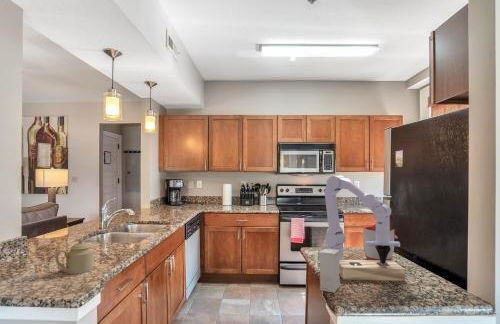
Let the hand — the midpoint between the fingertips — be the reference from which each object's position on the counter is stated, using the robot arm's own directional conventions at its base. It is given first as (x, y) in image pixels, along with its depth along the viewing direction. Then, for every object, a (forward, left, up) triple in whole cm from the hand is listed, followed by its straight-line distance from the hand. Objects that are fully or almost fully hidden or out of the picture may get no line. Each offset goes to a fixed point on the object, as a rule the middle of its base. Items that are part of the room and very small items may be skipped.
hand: (382, 262), depth 140 cm
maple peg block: (0, -6, -6) cm, 8 cm away
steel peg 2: (0, 0, -5) cm, 5 cm away
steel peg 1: (0, -12, -6) cm, 13 cm away
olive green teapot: (0, -138, -6) cm, 138 cm away
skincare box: (+16, -27, -6) cm, 32 cm away
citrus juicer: (-24, +8, -6) cm, 26 cm away
